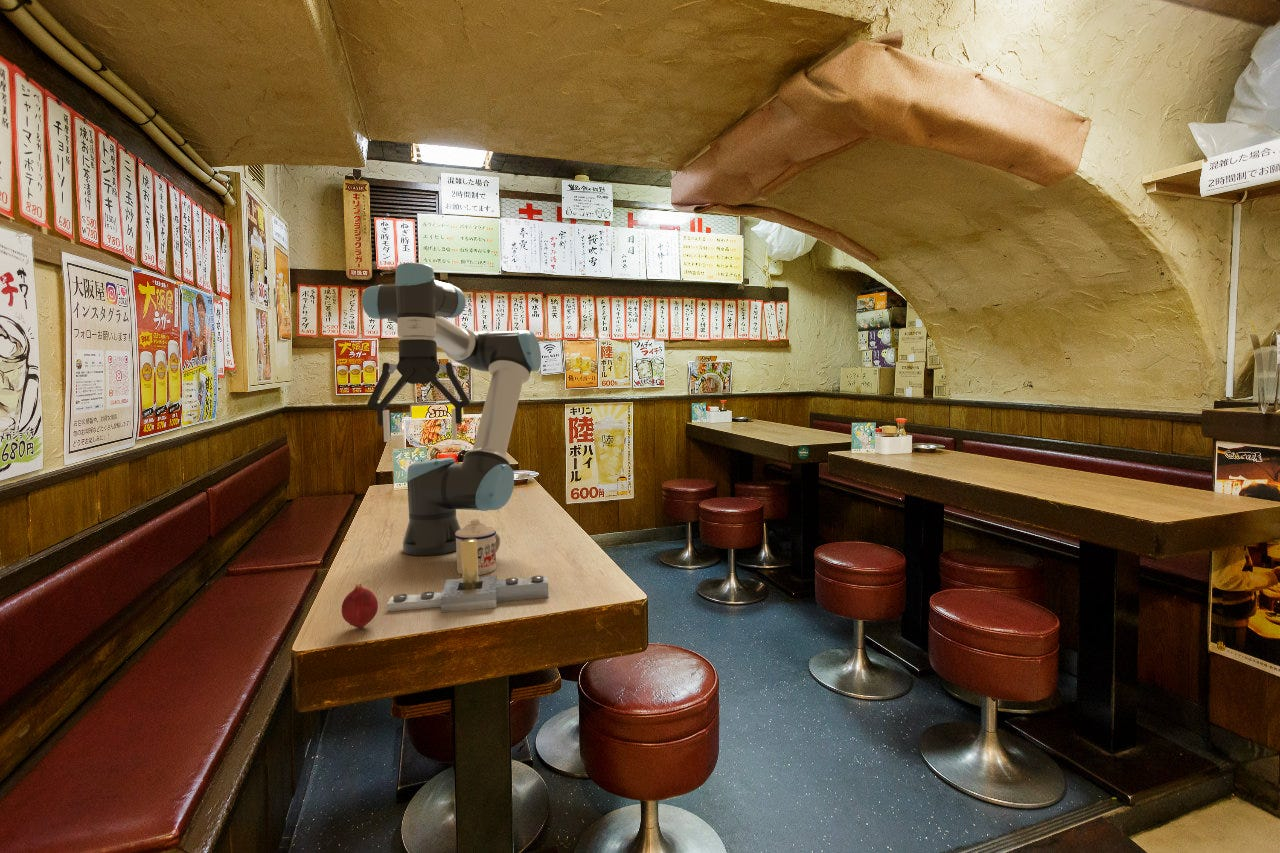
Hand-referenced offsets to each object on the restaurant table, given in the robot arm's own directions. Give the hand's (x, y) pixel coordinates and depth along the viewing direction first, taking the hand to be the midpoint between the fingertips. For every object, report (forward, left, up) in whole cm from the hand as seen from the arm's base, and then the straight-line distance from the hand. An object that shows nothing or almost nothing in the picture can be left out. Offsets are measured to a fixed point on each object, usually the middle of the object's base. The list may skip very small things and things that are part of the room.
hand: (421, 440), depth 126 cm
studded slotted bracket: (+14, +10, -31) cm, 35 cm away
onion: (+23, -8, -31) cm, 39 cm away
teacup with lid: (-7, +11, -31) cm, 34 cm away
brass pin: (+14, +10, -31) cm, 35 cm away
